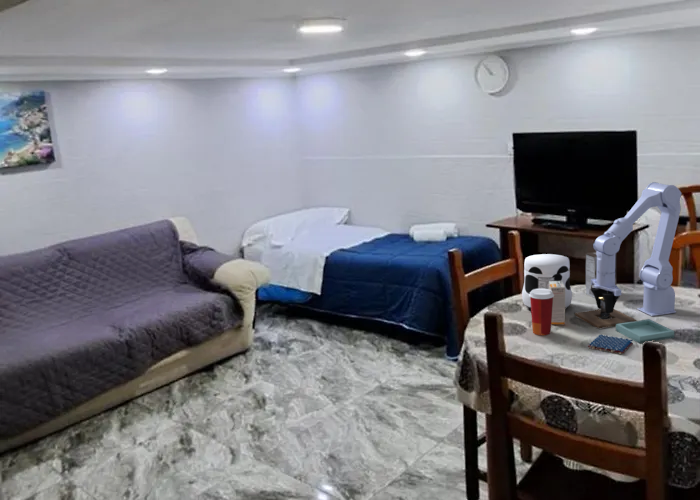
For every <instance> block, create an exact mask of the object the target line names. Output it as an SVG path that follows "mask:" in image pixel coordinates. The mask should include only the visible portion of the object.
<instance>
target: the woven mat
mask: <svg viewBox="0 0 700 500" xmlns="http://www.w3.org/2000/svg"><path fill="white" fill-rule="evenodd" d="M633 341H634V340H632V339H630V338H623V337H617V336H613V335H610V336H609V335H608V334H606V335H603V334H599V335H598V336H596V338H594V339H593V340H592V341H591V342H590V343H589V344H588V345H587V347H588V350H590V349H591V350H595V351H598V350H599V351H600V352H602V351H603V352H607V353H611V354H614V355H615V354H616V355H617V354H618V355H622V354H625V353H626V350H628V349H629V348H630V347H631V346H632V345H633V344H634V342H633Z"/></svg>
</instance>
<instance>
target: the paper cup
mask: <svg viewBox="0 0 700 500" xmlns="http://www.w3.org/2000/svg"><path fill="white" fill-rule="evenodd" d="M529 296H530V300H531V309H530V312H531V326H532V333H533V334H534V335H536V336H549V335H550V334H551V333H552V324H551V321H552V306H553V297H554V294H553V293H552V291H551V290H549V289H534V290H532V291H531V292H530V294H529Z"/></svg>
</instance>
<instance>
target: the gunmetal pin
mask: <svg viewBox="0 0 700 500" xmlns="http://www.w3.org/2000/svg"><path fill="white" fill-rule="evenodd" d="M598 299H600V300H601V305H600V316H602V317H604V318H608V317H609V316H610V313H606V310H605V301H604V298H603V295H599V296H598ZM609 318H610V317H609Z"/></svg>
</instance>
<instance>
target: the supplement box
mask: <svg viewBox="0 0 700 500" xmlns="http://www.w3.org/2000/svg"><path fill="white" fill-rule="evenodd" d="M549 290H551V291H552V293H553V294H554V297H553V306H552V321H551V325H565V324H566V308H565V286H564V284H563V281H549Z"/></svg>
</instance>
